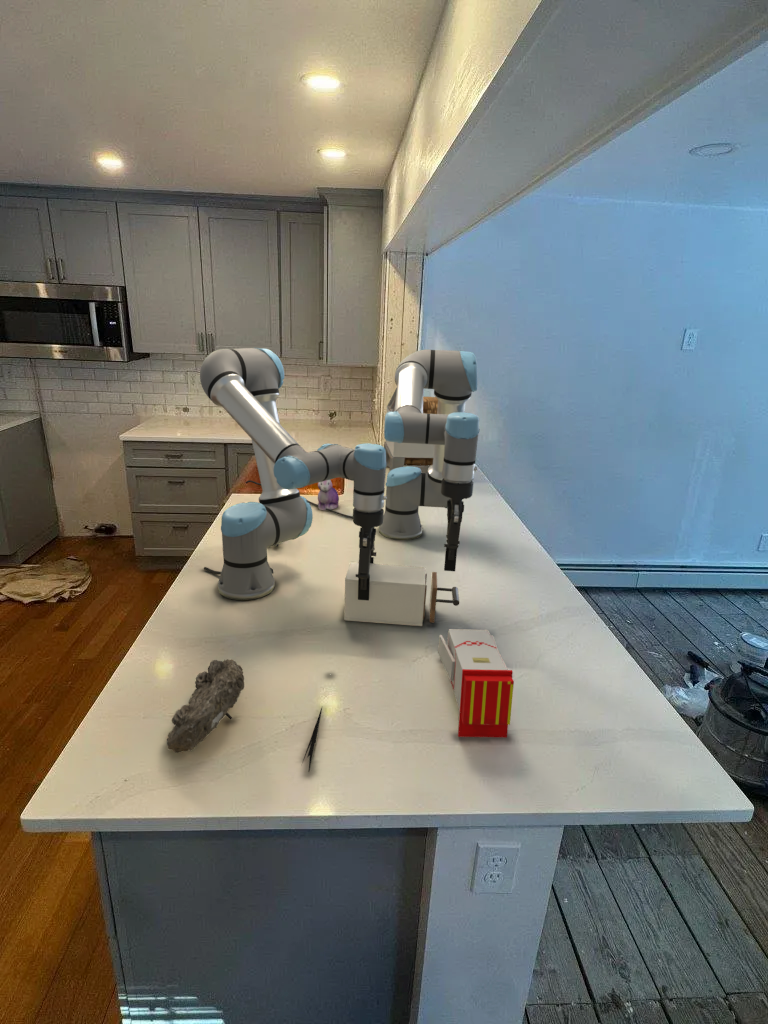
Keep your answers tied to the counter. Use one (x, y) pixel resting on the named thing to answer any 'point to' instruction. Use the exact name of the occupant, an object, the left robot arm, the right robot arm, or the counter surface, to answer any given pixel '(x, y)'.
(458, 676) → the toy
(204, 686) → the fossil
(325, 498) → the figurine
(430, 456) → the transformer
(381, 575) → the cabinet
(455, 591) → the drawer
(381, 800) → the counter surface
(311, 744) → the feather
